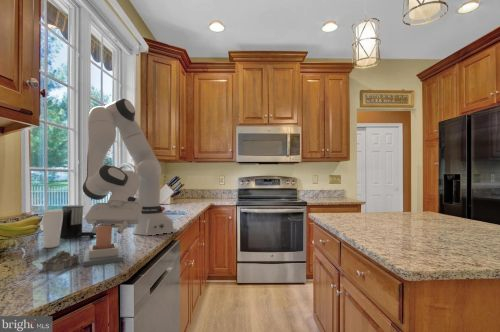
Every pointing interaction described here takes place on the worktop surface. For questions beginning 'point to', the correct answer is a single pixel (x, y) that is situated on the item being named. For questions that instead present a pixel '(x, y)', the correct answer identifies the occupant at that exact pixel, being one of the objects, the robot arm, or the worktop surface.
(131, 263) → the worktop surface
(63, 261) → the grey rock frame
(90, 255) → the base board
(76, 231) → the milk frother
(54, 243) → the drinking glass
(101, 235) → the pillar
